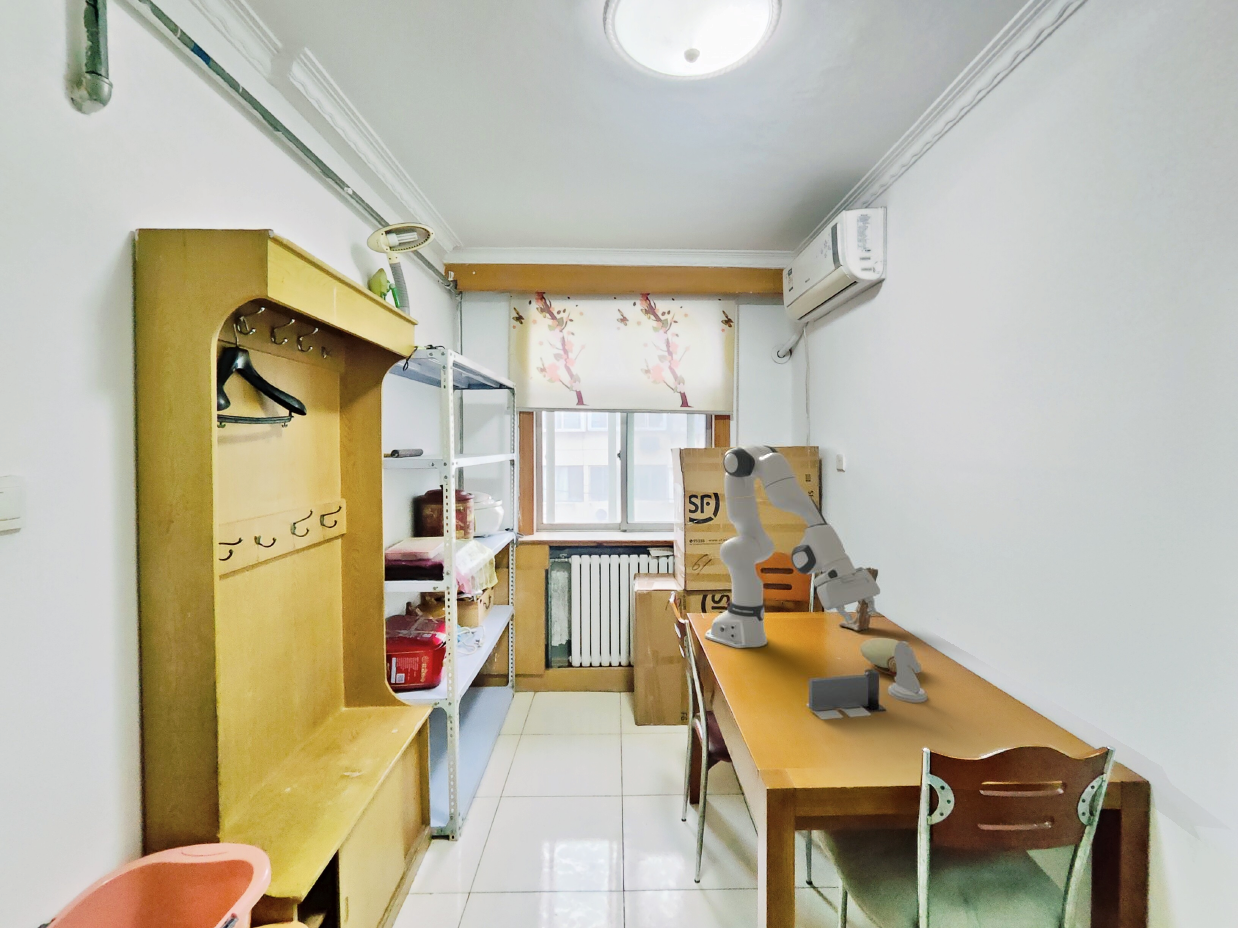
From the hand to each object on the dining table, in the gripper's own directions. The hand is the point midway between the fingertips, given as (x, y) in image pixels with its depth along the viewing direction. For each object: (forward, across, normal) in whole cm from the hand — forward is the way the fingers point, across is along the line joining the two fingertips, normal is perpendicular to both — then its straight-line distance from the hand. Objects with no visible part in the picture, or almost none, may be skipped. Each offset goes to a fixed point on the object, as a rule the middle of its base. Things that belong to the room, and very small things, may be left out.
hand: (861, 617), depth 156 cm
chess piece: (+23, -7, -5) cm, 25 cm away
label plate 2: (+21, +14, -4) cm, 25 cm away
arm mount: (+22, +8, -3) cm, 24 cm away
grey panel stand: (+20, +16, -4) cm, 26 cm away
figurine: (+1, -41, -48) cm, 63 cm away
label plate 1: (+19, +22, -6) cm, 29 cm away
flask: (+17, -17, -18) cm, 29 cm away
